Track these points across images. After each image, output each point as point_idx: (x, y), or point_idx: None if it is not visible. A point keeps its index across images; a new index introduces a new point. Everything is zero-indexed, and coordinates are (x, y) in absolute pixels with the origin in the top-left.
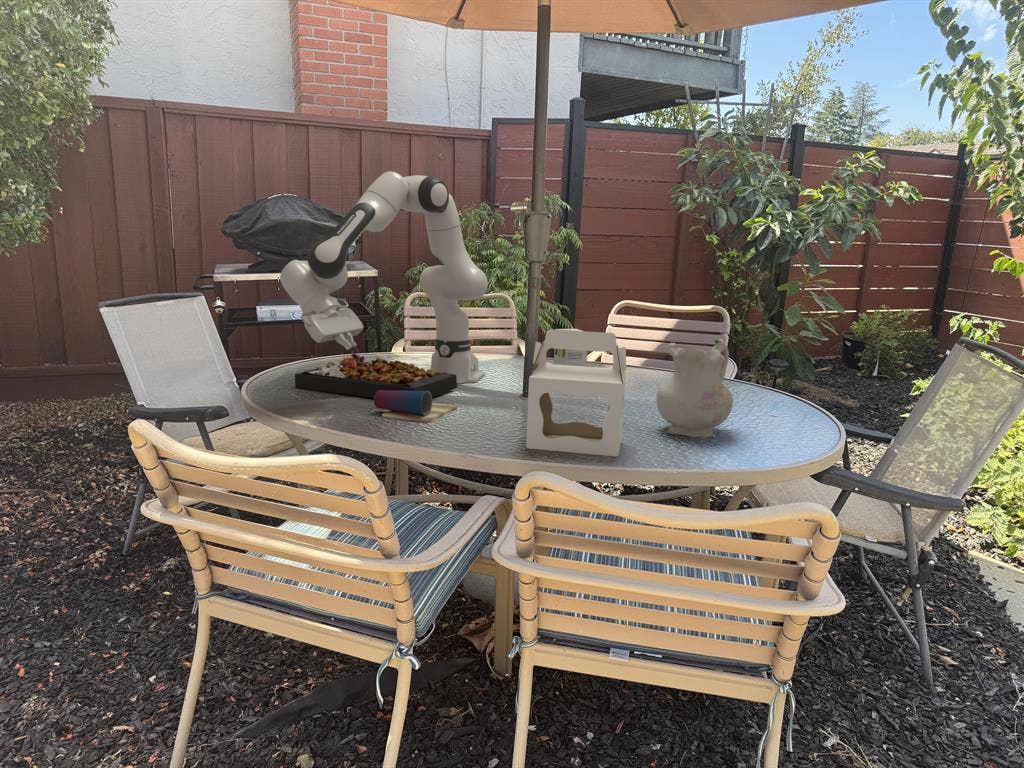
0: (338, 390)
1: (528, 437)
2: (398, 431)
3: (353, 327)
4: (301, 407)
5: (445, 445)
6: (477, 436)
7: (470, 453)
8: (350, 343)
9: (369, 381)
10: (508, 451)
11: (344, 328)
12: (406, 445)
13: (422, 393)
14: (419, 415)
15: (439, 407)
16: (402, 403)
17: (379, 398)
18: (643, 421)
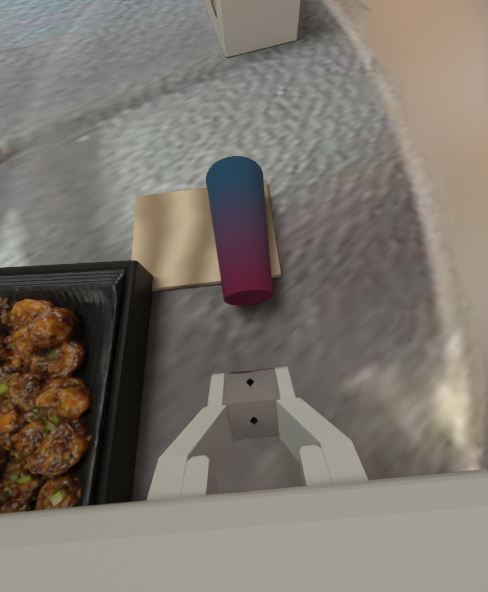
0: None
1: (298, 18)
2: (347, 191)
3: (13, 543)
4: None
5: (358, 104)
6: (286, 97)
7: (365, 69)
8: (269, 383)
9: (97, 444)
10: (322, 47)
11: (236, 540)
12: (402, 139)
13: (245, 160)
14: None
15: (164, 215)
16: (266, 216)
17: (270, 276)
18: (95, 10)
